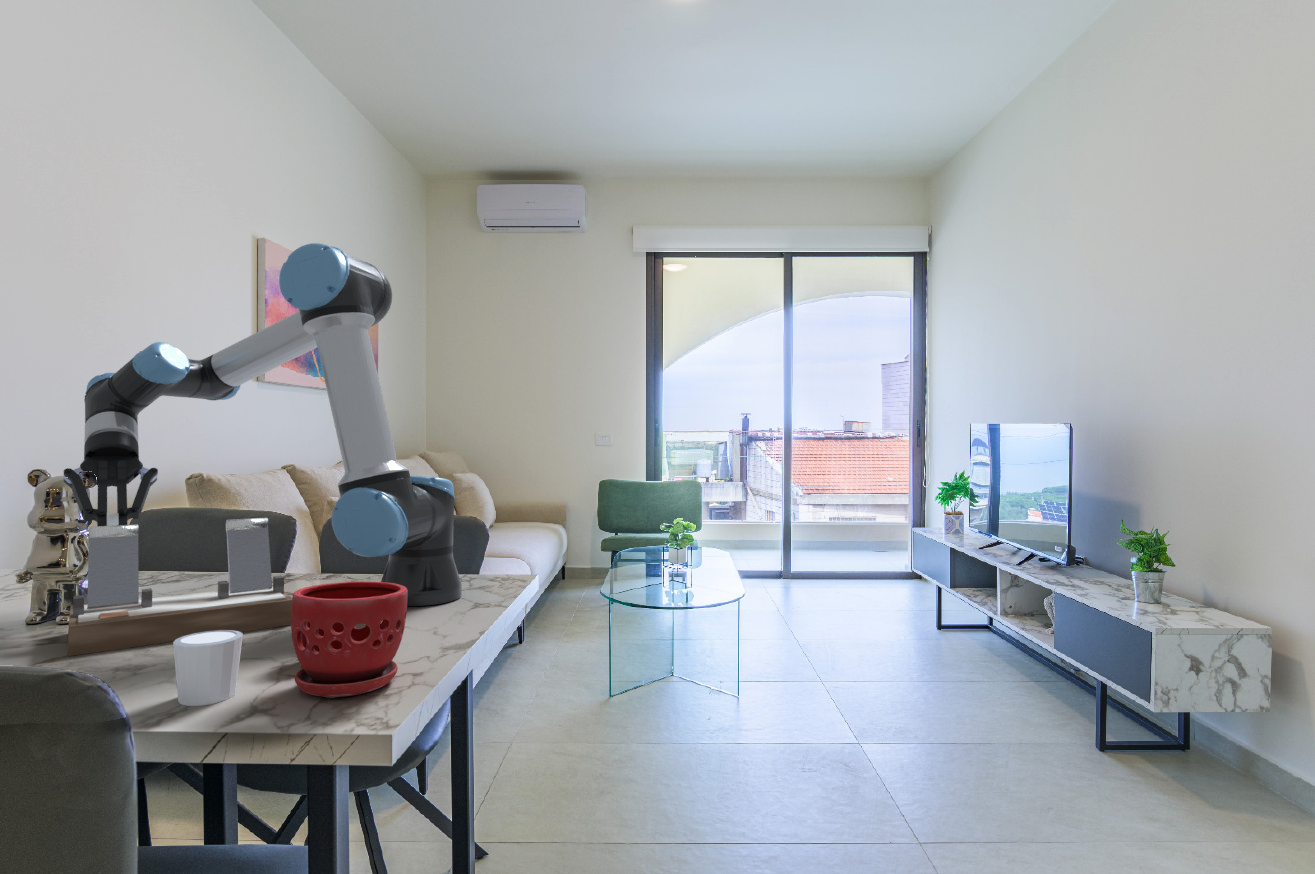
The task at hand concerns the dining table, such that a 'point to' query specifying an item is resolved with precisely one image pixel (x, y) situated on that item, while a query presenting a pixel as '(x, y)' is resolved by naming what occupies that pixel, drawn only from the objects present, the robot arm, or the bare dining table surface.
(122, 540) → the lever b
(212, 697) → the white cup
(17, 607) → the dining table surface
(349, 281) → the robot arm
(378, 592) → the plant pot
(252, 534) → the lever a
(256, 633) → the dining table surface
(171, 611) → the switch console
